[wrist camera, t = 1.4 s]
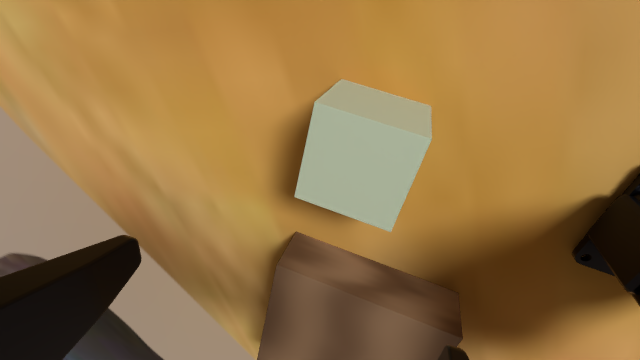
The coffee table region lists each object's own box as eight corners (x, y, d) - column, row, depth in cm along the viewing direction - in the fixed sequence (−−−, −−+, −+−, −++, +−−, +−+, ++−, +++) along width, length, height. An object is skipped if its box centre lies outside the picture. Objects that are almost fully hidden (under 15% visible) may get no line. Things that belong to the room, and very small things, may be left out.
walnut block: (457, 288, 22) (462, 338, 19) (399, 376, 29) (394, 426, 25) (298, 228, 24) (276, 264, 21) (275, 323, 30) (256, 363, 27)
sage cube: (431, 105, 17) (431, 138, 13) (398, 183, 20) (390, 231, 15) (341, 78, 18) (314, 102, 14) (322, 157, 20) (294, 196, 16)
